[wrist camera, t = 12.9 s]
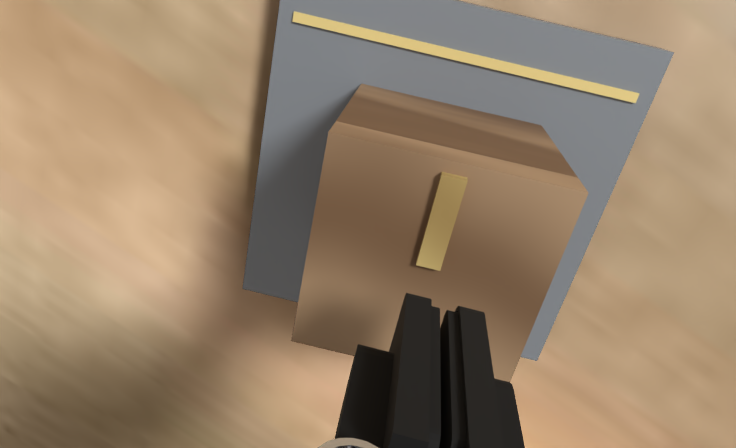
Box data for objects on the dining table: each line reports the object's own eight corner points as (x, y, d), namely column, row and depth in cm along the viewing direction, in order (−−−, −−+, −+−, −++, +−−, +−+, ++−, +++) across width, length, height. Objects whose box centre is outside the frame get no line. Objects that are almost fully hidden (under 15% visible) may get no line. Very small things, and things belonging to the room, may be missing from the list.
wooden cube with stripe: (486, 279, 20) (506, 397, 15) (329, 242, 20) (289, 345, 15) (541, 125, 18) (590, 195, 12) (361, 83, 18) (327, 134, 12)
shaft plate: (532, 345, 22) (557, 439, 18) (250, 276, 22) (203, 352, 18) (661, 48, 17) (742, 75, 13) (293, -39, 17) (242, -43, 13)
